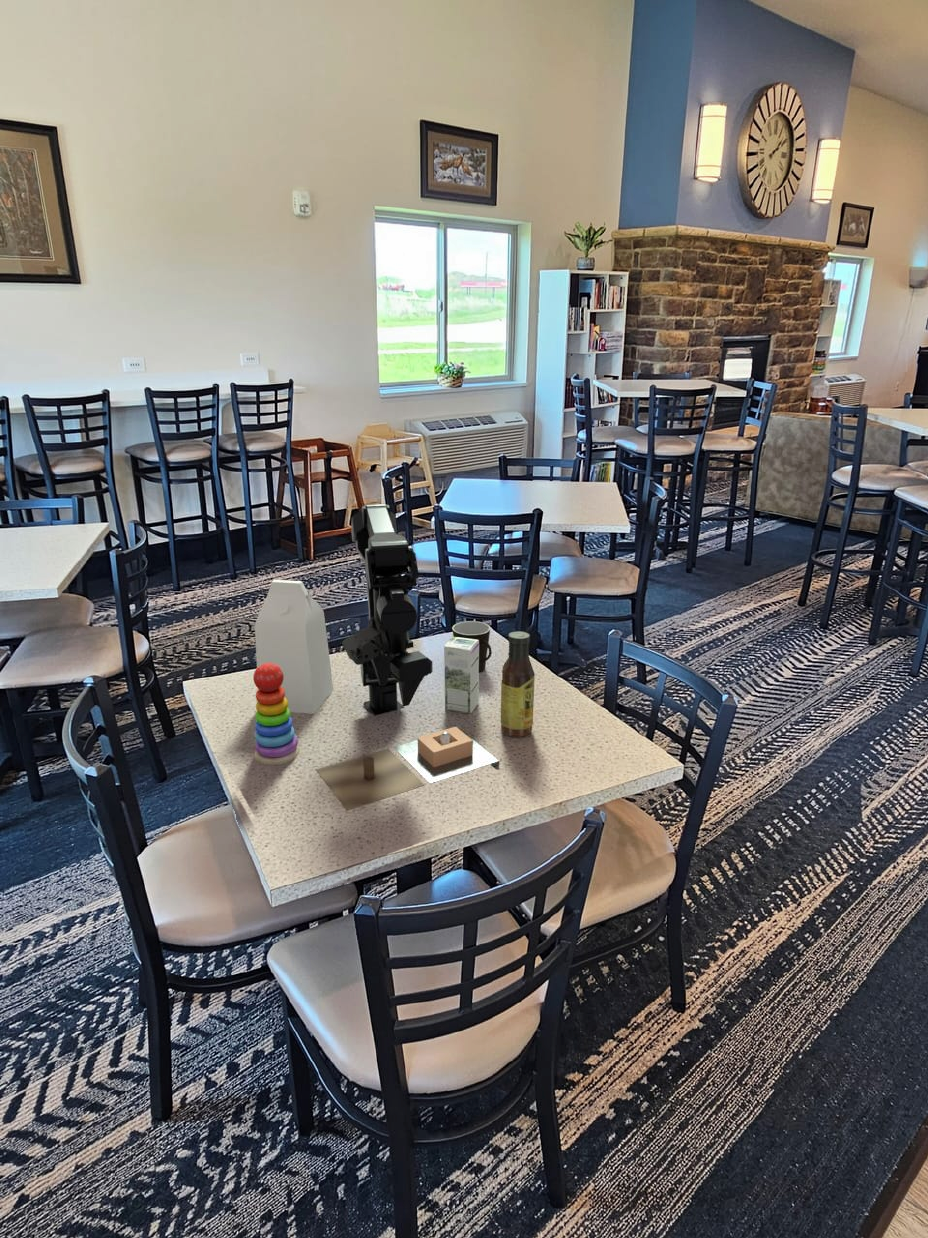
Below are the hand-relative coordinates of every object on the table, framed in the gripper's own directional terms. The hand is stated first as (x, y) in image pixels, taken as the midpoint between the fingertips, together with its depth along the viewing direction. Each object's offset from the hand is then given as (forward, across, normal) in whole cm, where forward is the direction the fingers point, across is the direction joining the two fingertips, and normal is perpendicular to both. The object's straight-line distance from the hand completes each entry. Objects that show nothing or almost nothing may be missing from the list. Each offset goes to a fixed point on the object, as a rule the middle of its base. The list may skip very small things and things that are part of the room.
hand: (394, 695), depth 134 cm
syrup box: (+12, -10, +20) cm, 25 cm away
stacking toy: (+12, -10, -19) cm, 25 cm away
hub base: (+12, +6, +7) cm, 15 cm away
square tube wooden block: (+11, +6, +7) cm, 14 cm away
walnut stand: (+12, +6, -8) cm, 16 cm away
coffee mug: (+12, -24, +31) cm, 41 cm away
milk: (+12, -31, -8) cm, 34 cm away
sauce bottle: (+12, +4, +24) cm, 27 cm away
